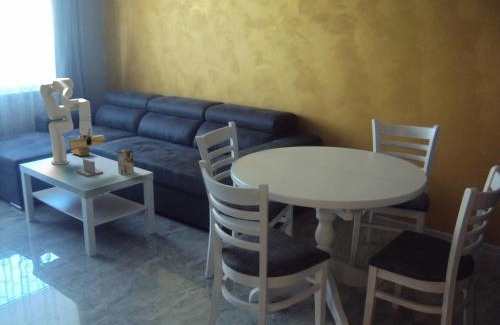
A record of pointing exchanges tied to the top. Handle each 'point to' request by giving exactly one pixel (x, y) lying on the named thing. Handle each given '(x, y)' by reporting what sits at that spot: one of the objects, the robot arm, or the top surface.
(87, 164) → the ridge stand
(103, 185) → the top surface
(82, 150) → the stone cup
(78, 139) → the oak batten
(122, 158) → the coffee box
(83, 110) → the robot arm
